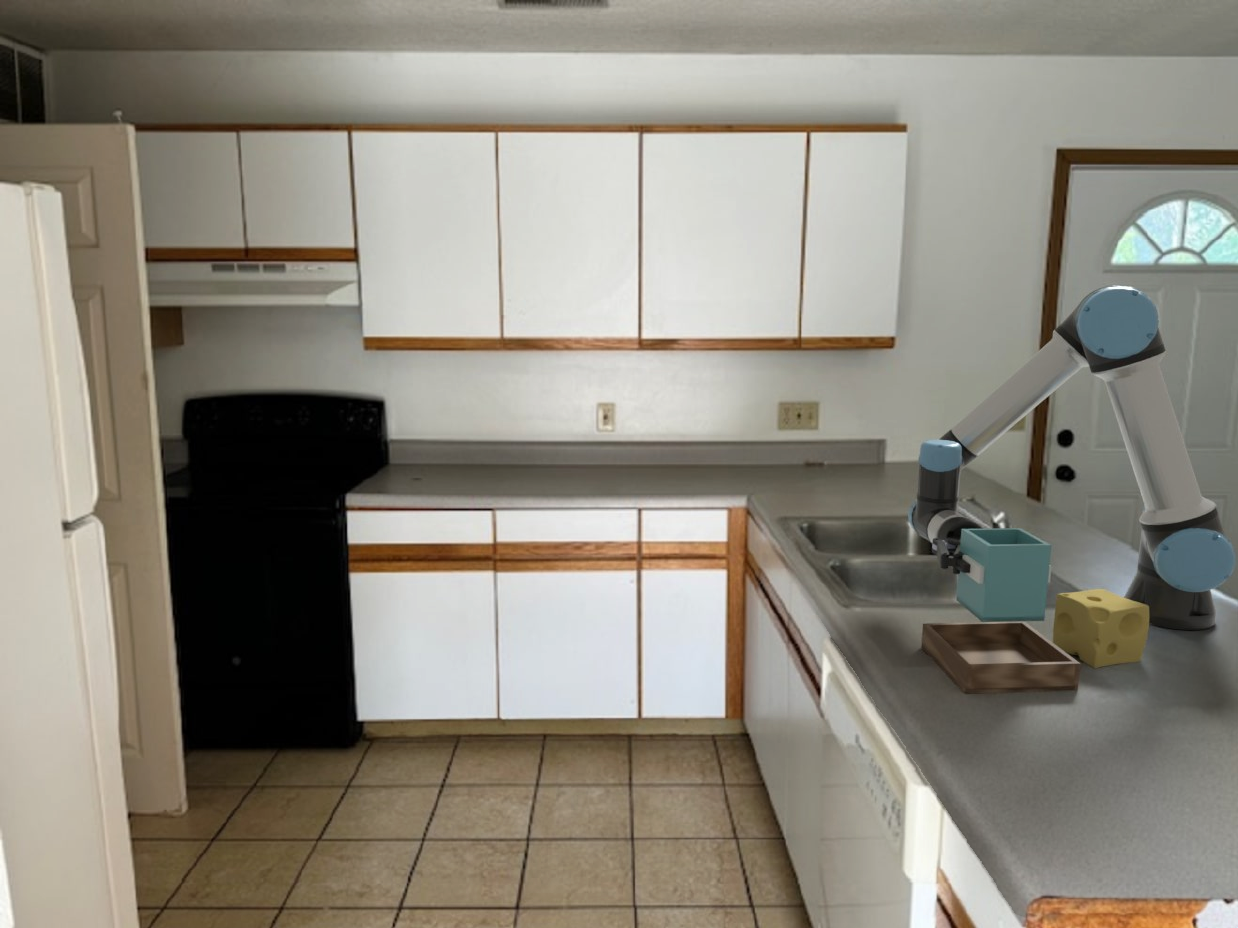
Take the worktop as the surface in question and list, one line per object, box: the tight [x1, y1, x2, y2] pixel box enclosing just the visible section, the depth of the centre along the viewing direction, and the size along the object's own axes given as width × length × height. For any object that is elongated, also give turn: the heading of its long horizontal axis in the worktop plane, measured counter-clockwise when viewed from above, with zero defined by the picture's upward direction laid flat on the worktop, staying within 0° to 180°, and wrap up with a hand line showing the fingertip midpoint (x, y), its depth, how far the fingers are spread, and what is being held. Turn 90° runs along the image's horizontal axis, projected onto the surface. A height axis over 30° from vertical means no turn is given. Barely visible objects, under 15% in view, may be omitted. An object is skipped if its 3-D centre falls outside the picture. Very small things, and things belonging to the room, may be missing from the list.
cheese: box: [1052, 588, 1150, 669], centre depth 154 cm, size 10×11×10 cm
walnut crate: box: [921, 621, 1081, 694], centre depth 148 cm, size 18×18×4 cm
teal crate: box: [955, 527, 1052, 622], centre depth 146 cm, size 10×10×12 cm
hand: (1015, 574), depth 141 cm, fingers closed on teal crate, 10 cm apart
